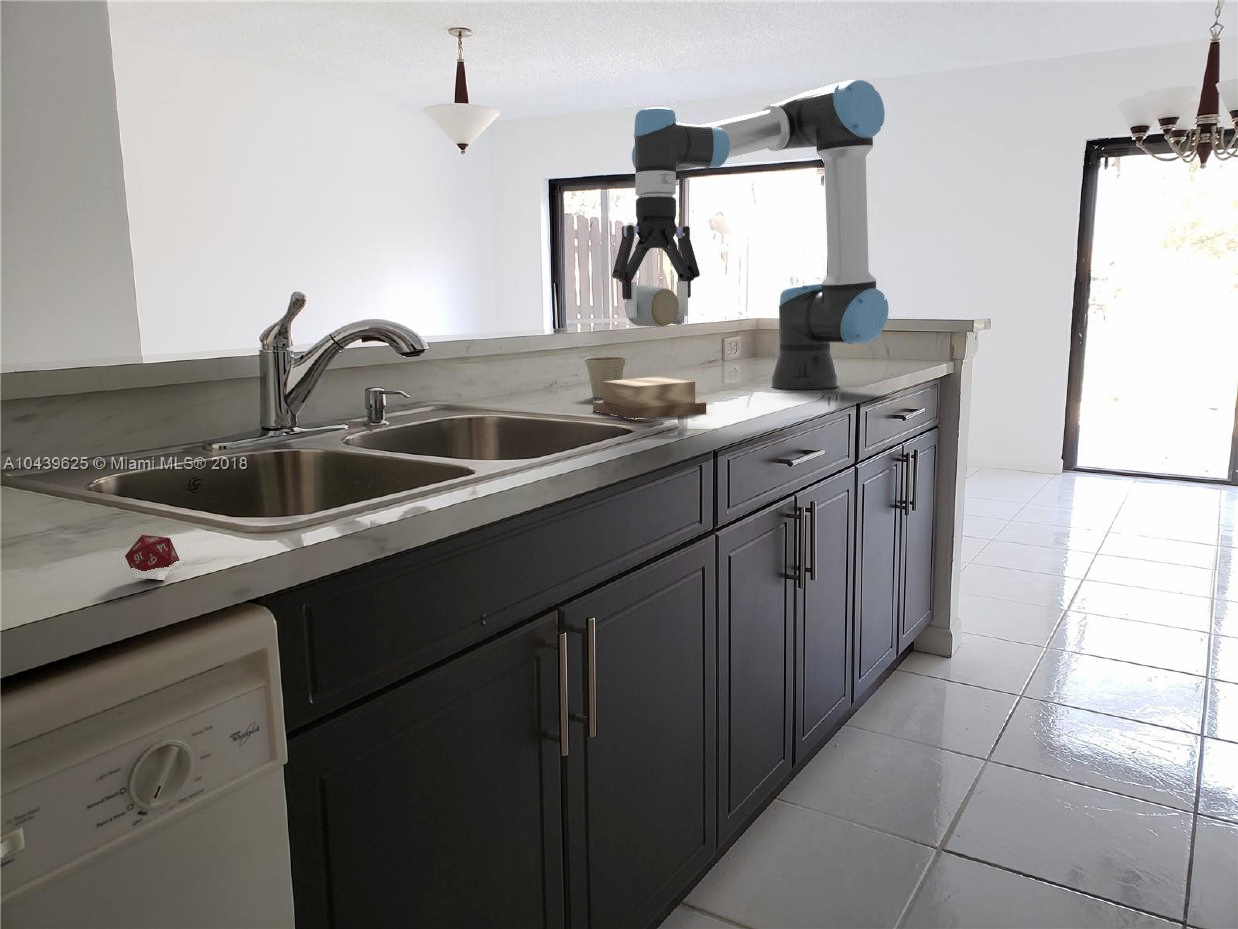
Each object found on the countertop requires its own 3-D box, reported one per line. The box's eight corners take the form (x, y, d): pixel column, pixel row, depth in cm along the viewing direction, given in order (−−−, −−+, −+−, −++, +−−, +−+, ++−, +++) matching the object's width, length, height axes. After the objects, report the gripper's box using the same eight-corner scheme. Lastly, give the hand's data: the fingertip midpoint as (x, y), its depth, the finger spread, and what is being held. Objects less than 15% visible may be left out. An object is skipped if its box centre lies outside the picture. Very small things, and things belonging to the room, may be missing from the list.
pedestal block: (659, 396, 191) (658, 376, 190) (695, 402, 180) (695, 381, 179) (603, 401, 184) (602, 381, 184) (637, 408, 173) (636, 386, 173)
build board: (661, 404, 193) (661, 395, 193) (706, 412, 179) (706, 402, 179) (593, 411, 185) (592, 401, 185) (634, 420, 172) (634, 409, 171)
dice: (154, 589, 79) (149, 543, 79) (118, 583, 81) (112, 539, 80) (191, 576, 83) (186, 532, 82) (155, 571, 85) (150, 528, 84)
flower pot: (578, 399, 207) (577, 359, 205) (595, 394, 215) (594, 356, 214) (617, 400, 203) (616, 360, 202) (633, 395, 212) (632, 356, 210)
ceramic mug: (653, 327, 172) (653, 284, 171) (624, 326, 178) (623, 285, 177) (694, 325, 179) (694, 284, 178) (664, 324, 185) (664, 285, 184)
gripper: (611, 192, 165) (614, 318, 170) (718, 196, 177) (718, 314, 181) (591, 196, 172) (594, 318, 176) (695, 200, 183) (696, 314, 187)
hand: (657, 316), depth 178 cm, fingers closed on ceramic mug, 11 cm apart
